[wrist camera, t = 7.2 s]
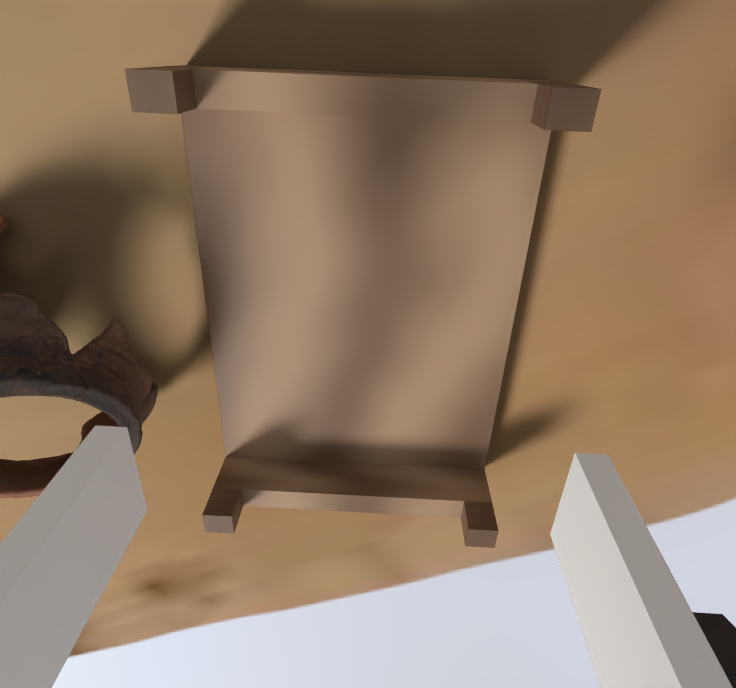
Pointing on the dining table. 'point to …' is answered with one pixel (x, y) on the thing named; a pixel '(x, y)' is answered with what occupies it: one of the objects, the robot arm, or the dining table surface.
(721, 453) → the dining table surface
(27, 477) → the pottery mug
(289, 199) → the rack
